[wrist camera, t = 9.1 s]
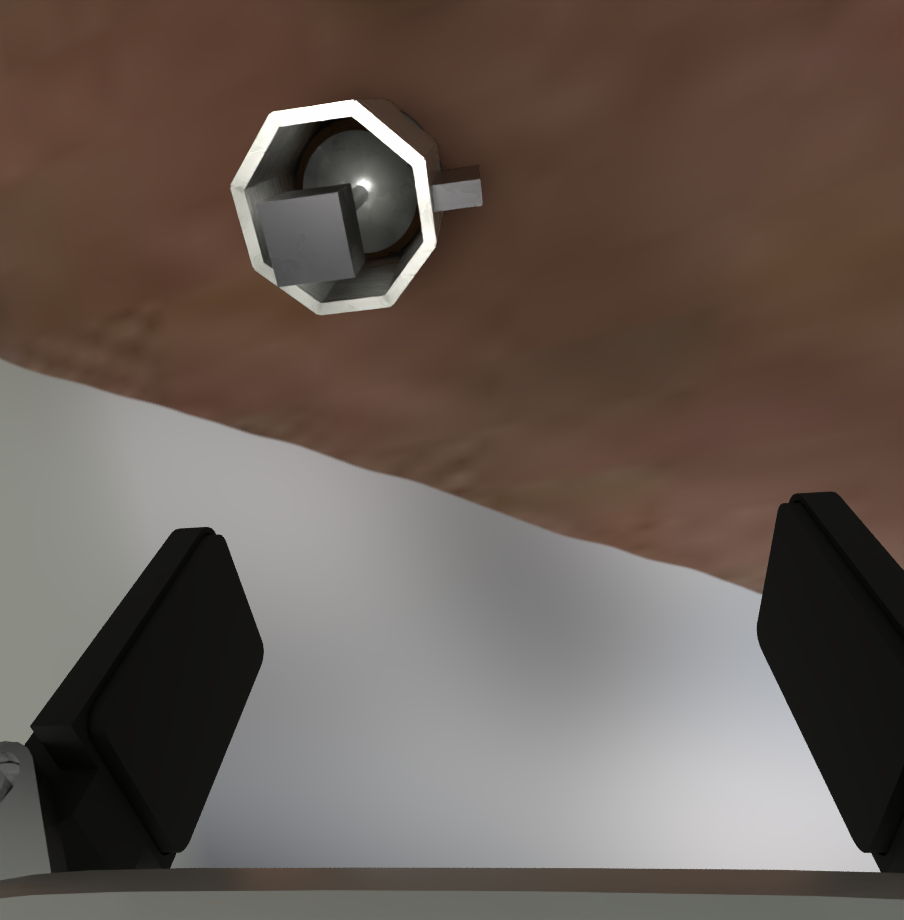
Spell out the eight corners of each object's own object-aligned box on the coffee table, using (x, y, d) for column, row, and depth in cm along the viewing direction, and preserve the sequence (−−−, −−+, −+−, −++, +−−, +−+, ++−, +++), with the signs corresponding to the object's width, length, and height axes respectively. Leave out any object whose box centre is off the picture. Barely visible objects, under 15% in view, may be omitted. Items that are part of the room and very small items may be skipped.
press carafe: (470, 84, 37) (470, 79, 27) (486, 246, 42) (491, 296, 31) (280, 112, 38) (208, 118, 28) (316, 268, 43) (266, 323, 32)
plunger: (408, 121, 35) (372, 135, 23) (425, 243, 38) (403, 313, 26) (293, 138, 36) (198, 160, 23) (320, 256, 39) (249, 332, 26)
